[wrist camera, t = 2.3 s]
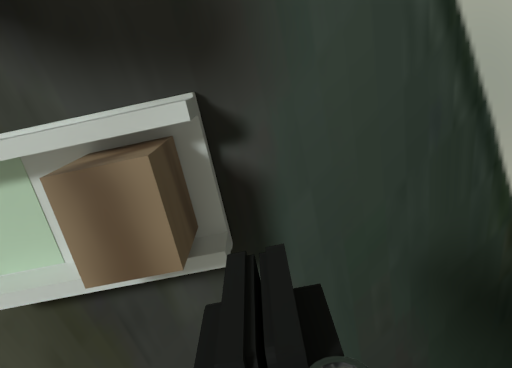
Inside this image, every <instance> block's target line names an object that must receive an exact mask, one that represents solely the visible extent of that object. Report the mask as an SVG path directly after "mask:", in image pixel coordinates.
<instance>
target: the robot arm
mask: <svg viewBox="0 0 512 368" xmlns="http://www.w3.org/2000/svg"><path fill="white" fill-rule="evenodd" d="M259 258H260V276H261V281H260V277H259V273H258V269H257V264H256V260H255V256H254V255H249V256H248V255H247V252H246V251H243V252H238V253H233V254H228V255H227V259H226V267H225V276H224V285H223V293H222V302H219V303H214V304H208V305H206V306H205V310H204V315H203V320H202V326H201V331H200V337H199V342H198V348H197V353H196V359H195V364H194V368H368V367H367V366H366V365H364V364H363V363H361V362H360V361H358V360H355V359H352V358H350V357H344V354H343V351H342V348H341V345H340V342H339V338H338V335H337V332H336V329H335V326H334V323H333V320H332V317H331V314H330V311H329V308H328V305H327V302H326V299H325V296H324V293H323V290H322V287H321V284H315V285H310V286H304V287H299V288H294V289H293V286H292V281H291V276H290V271H289V266H288V261H287V257H286V252H285V247H284V244H279V245H274V246H269V247H266V252H264V253H259Z"/></svg>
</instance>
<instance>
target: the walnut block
mask: <svg viewBox="0 0 512 368" xmlns="http://www.w3.org/2000/svg"><path fill="white" fill-rule="evenodd" d="M39 179H40V181H41V183H42V186H43V188H44V191H45V193H46V195H47V198H48V200H49V203H50V205H51V207H52V210H53V212H54V215H55V217H56V219H57V222H58V224H59V227H60V229H61V231H62V234H63V236H64V239H65V241H66V243H67V246H68V248H69V251H70V253H71V255H72V258H73V260H74V263H75V265H76V267H77V270H78V272H79V275H80V277H81V279H82V282H83V284H84V287H85V289H87V288H93V287H98V286H103V285H108V284H114V283H119V282H124V281H129V280H135V279H140V278H145V277H150V276H156V275H161V274H166V273H171V272H177V271H182V270H184V267H185V264H186V261H187V258H188V255H189V253H190V250H191V247H192V244H193V241H194V238H195V235H196V232H197V229H198V224H197V220H196V217H195V213H194V210H193V206H192V202H191V199H190V195H189V192H188V188H187V185H186V181H185V178H184V174H183V171H182V167H181V164H180V160H179V156H178V153H177V149H176V146H175V142H174V139H173V136H169V137H164V138H159V139H155V140H150V141H145V142H140V143H136V144H131V145H126V146H121V147H117V148H112V149H107V150H102V151H98V152H93V153H89V154H87V155H85V156H83V157H81V158H79V159H77V160H75V161H73V162H71V163H69V164H67V165H65V166H63V167H61V168H59V169H57V170H55V171H53V172H51V173H49V174H47V175H45V176H43V177H41V178H39Z"/></svg>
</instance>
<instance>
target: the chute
mask: <svg viewBox="0 0 512 368" xmlns="http://www.w3.org/2000/svg"><path fill="white" fill-rule="evenodd" d="M169 136H173V139H174V142H175V146H176V149H177V153H178V156H179V160H180V164H181V167H182V171H183V174H184V178H185V181H186V185H187V188H188V192H189V195H190V199H191V202H192V206H193V210H194V213H195V217H196V220H197V224H198V229H197V232H196V235H195V238H194V241H193V244H192V247H191V250H190V253H189V255H188V258H187V261H186V264H185V267H184V270H182V271H177V272H171V273H166V274H161V275H156V276H150V277H145V278H140V279H135V280H129V281H124V282H119V283H114V284H108V285H103V286H98V287H93V288H87V289H85V287H84V284H83V282H82V279H81V277H80V275H79V272H78V270H77V267H76V265H75V263H74V260H73V258H72V255H71V253H70V251H69V248H68V246H67V243H66V241H65V239H64V236H63V234H62V231H61V229H60V227H59V224H58V222H57V219H56V217H55V215H54V212H53V210H52V207H51V205H50V203H49V200H48V198H47V195H46V193H45V191H44V188H43V186H42V183H41V181H40V179H39V178H41V177H43V176H45V175H47V174H49V173H51V172H53V171H55V170H57V169H59V168H61V167H63V166H65V165H67V164H69V163H71V162H73V161H75V160H77V159H79V158H81V157H83V156H85V155H87V154H89V153H93V152H98V151H102V150H107V149H112V148H117V147H121V146H126V145H131V144H136V143H140V142H145V141H150V140H155V139H159V138H164V137H169ZM232 247H233V242H232V238H231V234H230V230H229V226H228V222H227V218H226V214H225V210H224V206H223V202H222V198H221V194H220V190H219V186H218V182H217V178H216V175H215V171H214V167H213V163H212V159H211V155H210V151H209V147H208V143H207V139H206V135H205V131H204V127H203V123H202V119H201V115H200V111H199V107H198V104H197V100H196V96H195V92H191V93H186V94H182V95H177V96H172V97H168V98H163V99H159V100H154V101H149V102H145V103H140V104H136V105H131V106H126V107H122V108H117V109H113V110H108V111H103V112H99V113H94V114H90V115H85V116H80V117H76V118H71V119H67V120H62V121H57V122H53V123H48V124H44V125H39V126H34V127H30V128H25V129H21V130H16V131H11V132H7V133H2V134H0V310H1V309H7V308H12V307H17V306H22V305H28V304H33V303H38V302H44V301H49V300H54V299H59V298H65V297H70V296H75V295H81V294H86V293H91V292H96V291H102V290H107V289H112V288H118V287H123V286H128V285H133V284H139V283H144V282H149V281H155V280H160V279H165V278H170V277H176V276H181V275H186V274H192V273H197V272H202V271H207V270H213V269H218V268H223V267H226V259H227V255H228V254H230V253H231V249H232Z"/></svg>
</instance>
